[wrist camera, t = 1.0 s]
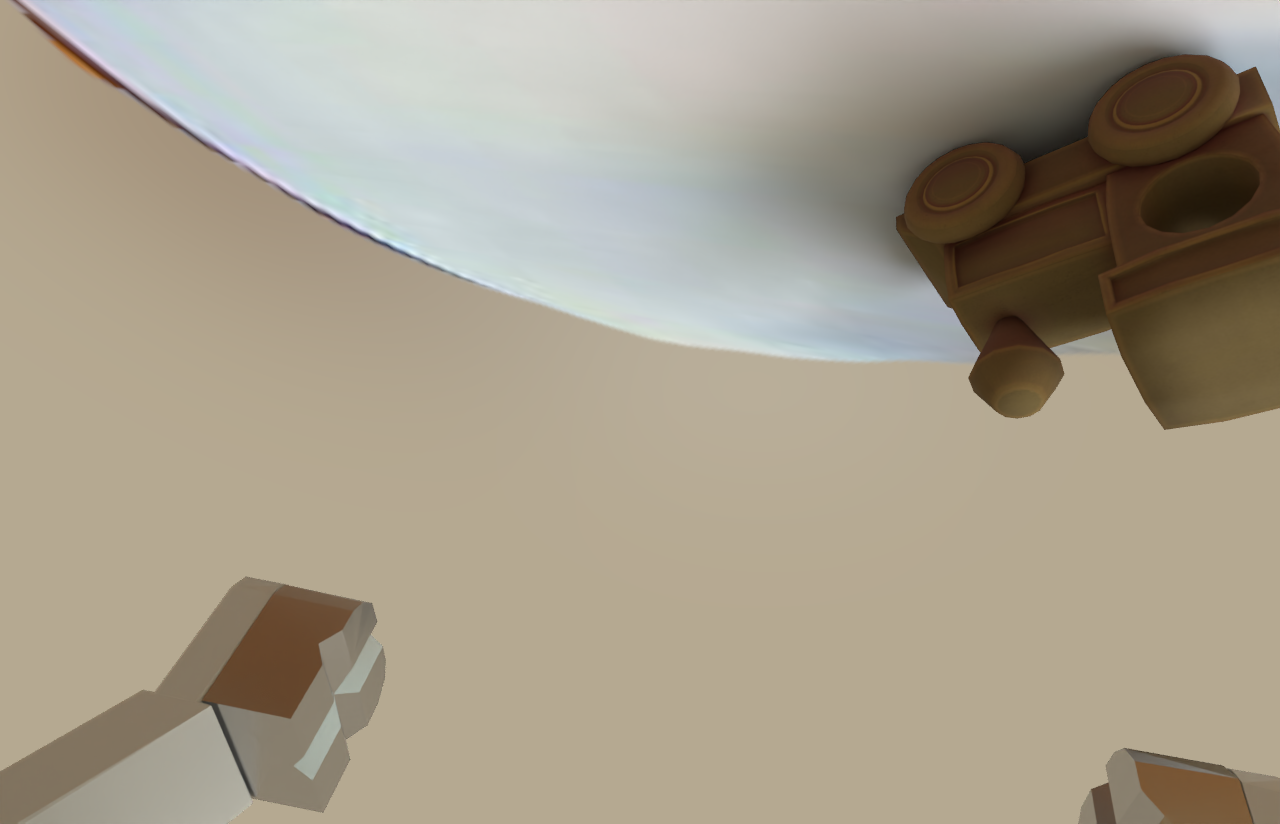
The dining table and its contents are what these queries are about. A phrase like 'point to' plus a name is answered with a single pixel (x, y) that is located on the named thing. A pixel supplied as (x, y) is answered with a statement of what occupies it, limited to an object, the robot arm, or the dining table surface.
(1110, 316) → the wooden toy train
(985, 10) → the dining table surface
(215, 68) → the dining table surface
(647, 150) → the dining table surface
